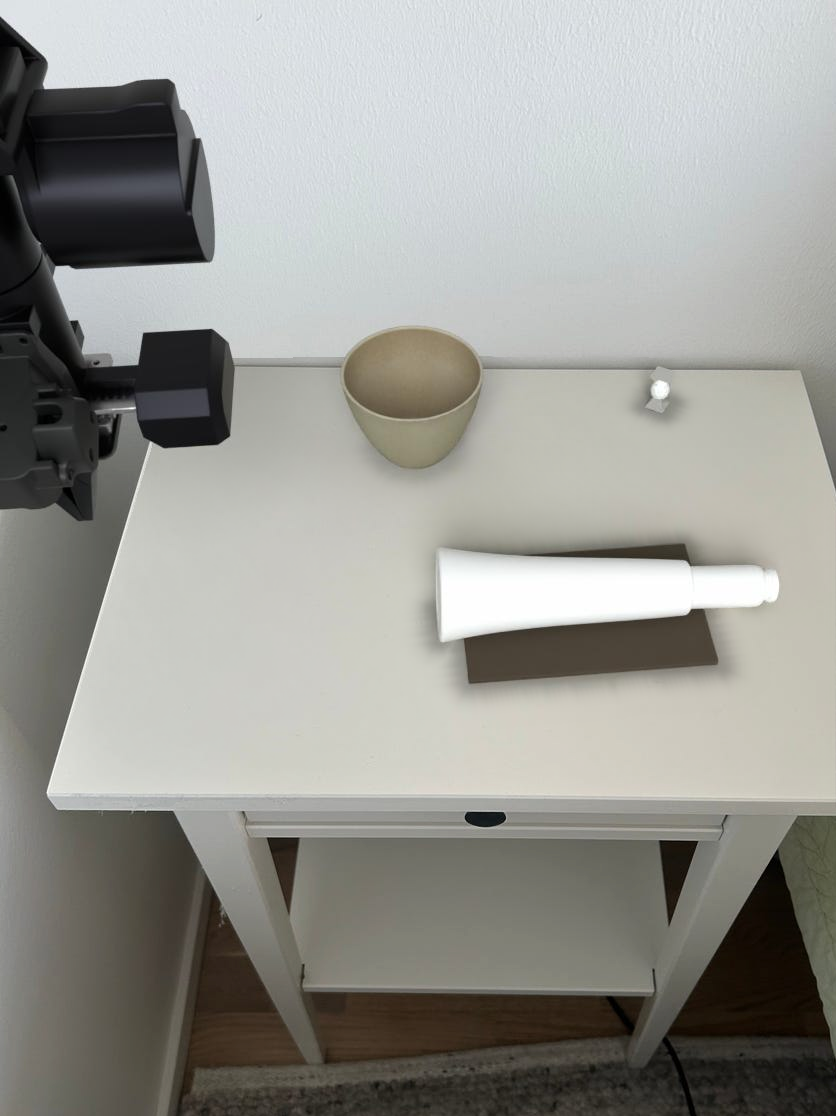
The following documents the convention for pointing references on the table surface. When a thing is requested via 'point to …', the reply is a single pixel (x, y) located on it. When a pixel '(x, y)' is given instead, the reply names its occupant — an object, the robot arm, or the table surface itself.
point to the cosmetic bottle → (581, 590)
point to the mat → (595, 638)
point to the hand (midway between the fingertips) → (87, 515)
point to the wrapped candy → (660, 389)
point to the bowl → (412, 391)
